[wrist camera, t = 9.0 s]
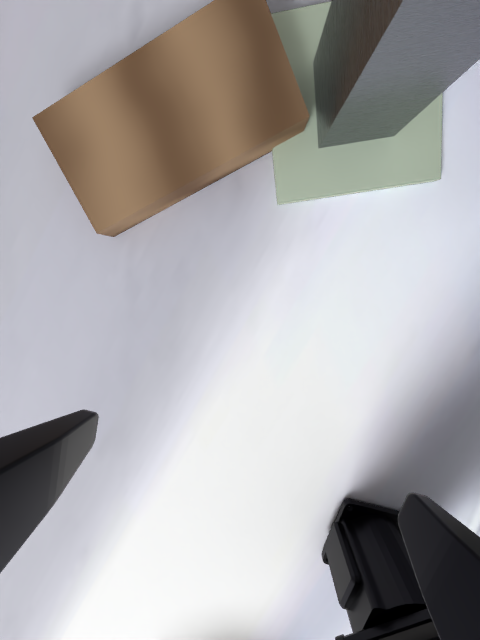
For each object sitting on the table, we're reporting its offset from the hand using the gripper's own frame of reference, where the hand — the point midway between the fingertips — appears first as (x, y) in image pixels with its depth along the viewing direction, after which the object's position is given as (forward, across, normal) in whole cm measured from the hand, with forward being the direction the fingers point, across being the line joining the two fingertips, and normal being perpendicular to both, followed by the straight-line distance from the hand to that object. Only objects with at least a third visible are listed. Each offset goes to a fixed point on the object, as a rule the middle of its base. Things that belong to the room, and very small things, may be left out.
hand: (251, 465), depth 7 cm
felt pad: (+12, -2, -16) cm, 20 cm away
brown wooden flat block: (+12, +8, -12) cm, 19 cm away
